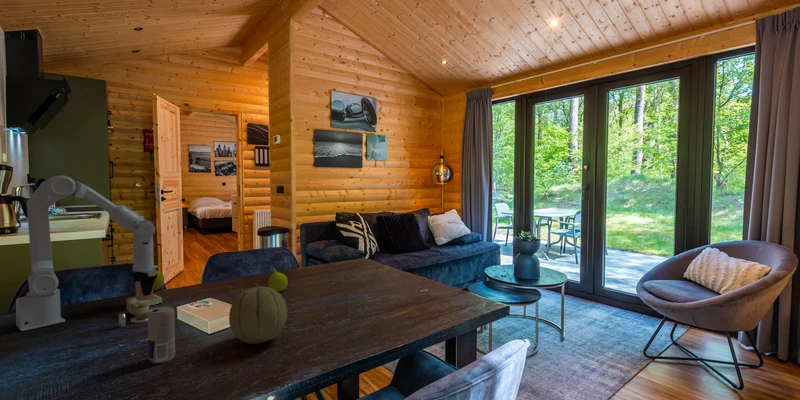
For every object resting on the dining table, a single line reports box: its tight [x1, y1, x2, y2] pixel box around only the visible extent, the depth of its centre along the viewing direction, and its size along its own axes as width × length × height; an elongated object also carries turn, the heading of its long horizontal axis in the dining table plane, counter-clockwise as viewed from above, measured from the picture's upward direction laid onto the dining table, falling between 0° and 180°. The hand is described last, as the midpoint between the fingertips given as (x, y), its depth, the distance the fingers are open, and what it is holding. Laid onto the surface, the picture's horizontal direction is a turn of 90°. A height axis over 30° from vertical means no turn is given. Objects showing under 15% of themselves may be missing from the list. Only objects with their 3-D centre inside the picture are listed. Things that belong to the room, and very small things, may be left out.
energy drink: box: [147, 305, 176, 364], centre depth 90 cm, size 5×5×12 cm
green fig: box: [267, 267, 289, 293], centre depth 147 cm, size 7×7×10 cm
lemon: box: [153, 269, 165, 291], centre depth 146 cm, size 6×6×8 cm
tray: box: [136, 293, 163, 307], centre depth 130 cm, size 8×8×2 cm
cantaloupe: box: [228, 283, 288, 345], centre depth 101 cm, size 15×15×15 cm
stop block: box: [134, 281, 155, 301], centre depth 130 cm, size 4×4×6 cm
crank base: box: [118, 312, 148, 329], centre depth 114 cm, size 10×6×4 cm, turn 143°
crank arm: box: [125, 296, 150, 319], centre depth 118 cm, size 12×4×4 cm, turn 53°
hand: (144, 293), depth 130 cm, fingers closed on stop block, 4 cm apart
